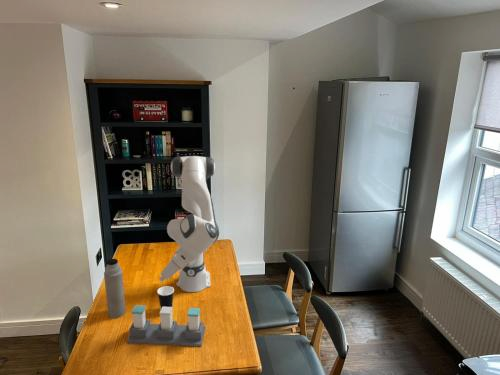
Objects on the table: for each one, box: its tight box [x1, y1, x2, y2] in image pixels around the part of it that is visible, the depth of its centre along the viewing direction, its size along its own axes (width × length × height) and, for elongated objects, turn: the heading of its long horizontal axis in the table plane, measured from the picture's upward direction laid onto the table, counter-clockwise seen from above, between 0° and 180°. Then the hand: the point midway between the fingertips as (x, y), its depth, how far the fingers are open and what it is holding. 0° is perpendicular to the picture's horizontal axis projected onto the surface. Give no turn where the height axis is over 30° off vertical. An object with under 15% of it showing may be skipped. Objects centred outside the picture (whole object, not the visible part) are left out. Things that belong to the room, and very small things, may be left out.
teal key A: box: [131, 304, 147, 328], centre depth 160 cm, size 5×5×9 cm
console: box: [126, 319, 207, 347], centre depth 161 cm, size 12×32×5 cm, turn 88°
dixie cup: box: [156, 285, 175, 310], centre depth 178 cm, size 8×8×11 cm
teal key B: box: [187, 307, 201, 331], centre depth 159 cm, size 5×5×9 cm
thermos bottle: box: [103, 258, 127, 319], centre depth 172 cm, size 8×8×28 cm
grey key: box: [159, 306, 174, 330], centre depth 159 cm, size 5×5×9 cm
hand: (165, 275), depth 155 cm, fingers open, 8 cm apart
